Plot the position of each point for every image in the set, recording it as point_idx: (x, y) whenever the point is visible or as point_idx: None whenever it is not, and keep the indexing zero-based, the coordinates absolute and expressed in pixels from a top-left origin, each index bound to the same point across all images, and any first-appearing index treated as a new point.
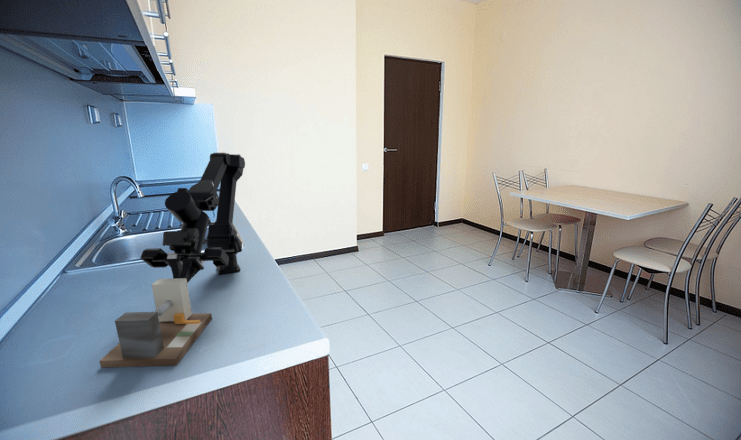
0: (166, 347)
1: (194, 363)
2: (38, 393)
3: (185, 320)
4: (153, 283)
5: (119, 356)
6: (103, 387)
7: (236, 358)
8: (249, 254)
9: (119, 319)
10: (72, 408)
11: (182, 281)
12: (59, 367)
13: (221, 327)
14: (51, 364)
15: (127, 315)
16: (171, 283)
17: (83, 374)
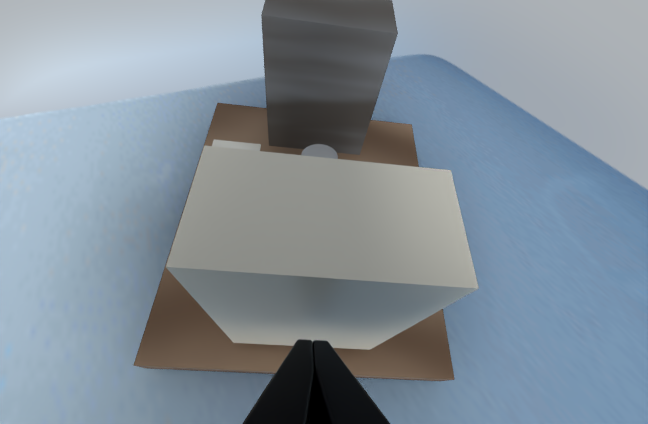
0: (261, 144)
1: (177, 124)
2: (464, 100)
3: None
4: (453, 191)
5: (373, 131)
6: None
7: (58, 124)
8: None
9: (382, 4)
10: None
11: (192, 192)
12: (505, 158)
13: (101, 291)
14: (536, 170)
15: (371, 16)
16: (286, 166)
17: (427, 130)
